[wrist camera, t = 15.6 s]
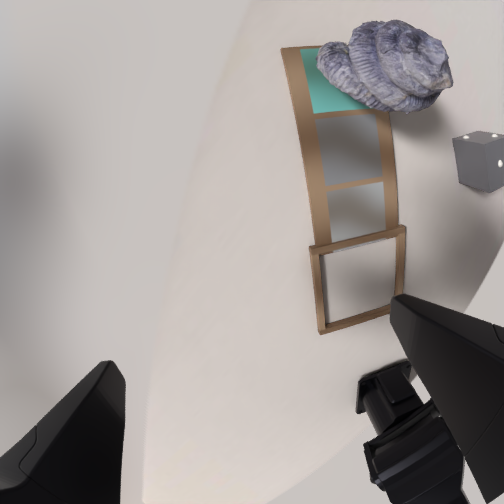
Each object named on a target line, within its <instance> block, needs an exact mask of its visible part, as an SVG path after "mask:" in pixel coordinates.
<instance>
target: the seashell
mask: <svg viewBox="0 0 504 504" xmlns="http://www.w3.org/2000/svg"><path fill="white" fill-rule="evenodd" d="M448 58H449V57H448V55H447V53H446V50H445V48H444V47H443V45H442V41H440V40H438V39H435V38H433V37H431V36H430V35H428V34H427V33H426V32H424V31H422V30H421V29H416V28H414V27H413V26H411V25H409V24H407V23H405V22H403V21H400V20H391V21H389V22H386V23H385V22H383V21H380V22H377V21H371V22H366V23H363V24H362V25H361V26H359V27H358V28H356V29H354V30H353V33H352V37H351V39H350V41H349V44H348V46H347V45H346V43H343V42H338V41H337V42H329V43H326V44H325V45H323V46H322V47H320V49H319V51H318V55H317V56H316V58H315V59H316V61H317V62H318V63H317V65H316V66H317V68H318V69H319V70H320V71H321V72H322V73H323V76H325V77H326V79H327V80H329V83H330V84H332V85H334V86H335V87H336V88H338V89H340V90H341V91H342V92H345V93H347V94H348V95H350V96H351V97H353V98H354V100H357V101H358V102H361V103H362V104H364V105H366V106H369V107H370V108H374V109H377V110H380V111H383V112H386V111H398V110H399V111H402V112H406V114H408V113H410V112H411V111H420V110H422V109H424V108H428V107H429V106H430V105H432V104H433V103H434V102H435V100H436V99H437V98H438V96H439V95H440V93H441V92H442V91H443V90H444V89H445V88H450V87H452V86H453V79H452V75H451V71H450V67H449V64H448Z"/></svg>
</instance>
